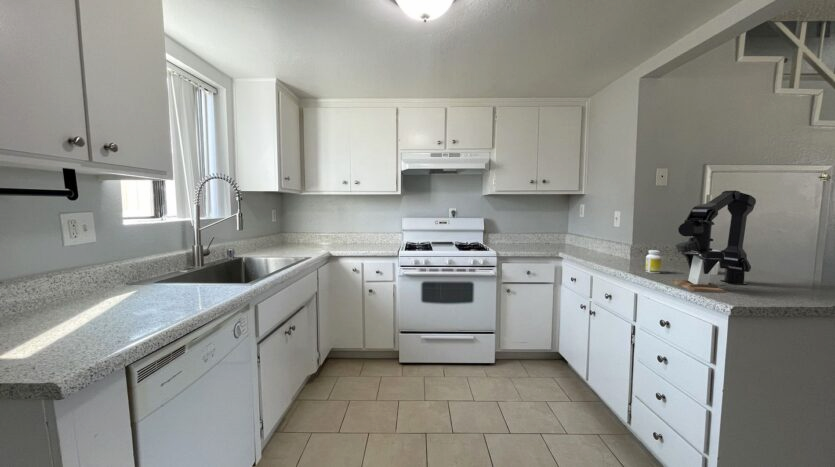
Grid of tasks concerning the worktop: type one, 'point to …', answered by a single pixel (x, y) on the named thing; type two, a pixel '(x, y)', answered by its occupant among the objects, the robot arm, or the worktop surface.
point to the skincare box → (698, 271)
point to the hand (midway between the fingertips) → (698, 271)
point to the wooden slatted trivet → (698, 286)
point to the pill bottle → (653, 262)
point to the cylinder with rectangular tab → (715, 268)
